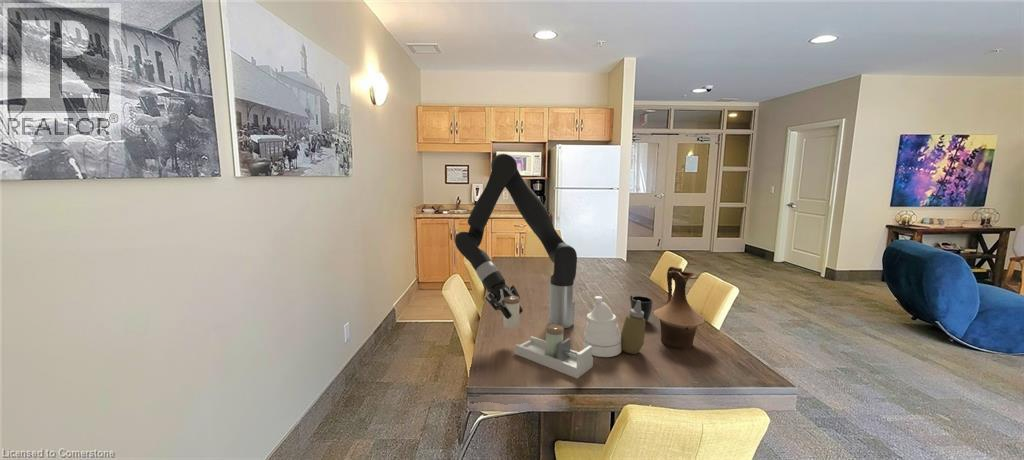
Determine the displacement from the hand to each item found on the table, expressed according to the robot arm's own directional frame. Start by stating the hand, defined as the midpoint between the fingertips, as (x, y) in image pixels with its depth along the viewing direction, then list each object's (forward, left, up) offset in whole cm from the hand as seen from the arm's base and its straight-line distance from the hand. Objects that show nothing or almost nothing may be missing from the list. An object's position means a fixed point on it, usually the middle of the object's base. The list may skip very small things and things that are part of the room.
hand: (515, 315), depth 133 cm
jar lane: (-5, +15, -11) cm, 20 cm away
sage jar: (-5, +16, -10) cm, 19 cm away
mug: (-59, +3, -11) cm, 60 cm away
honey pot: (-25, +17, -11) cm, 33 cm away
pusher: (-7, +21, -10) cm, 24 cm away
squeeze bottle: (-33, +23, -11) cm, 42 cm away
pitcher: (-53, +26, -11) cm, 61 cm away
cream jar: (+1, -2, -4) cm, 5 cm away
